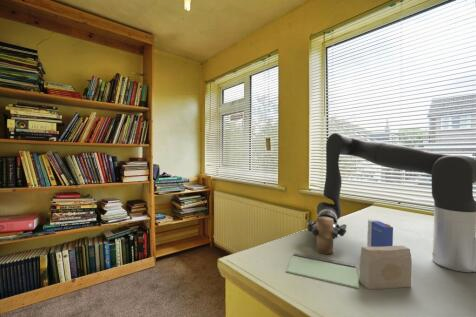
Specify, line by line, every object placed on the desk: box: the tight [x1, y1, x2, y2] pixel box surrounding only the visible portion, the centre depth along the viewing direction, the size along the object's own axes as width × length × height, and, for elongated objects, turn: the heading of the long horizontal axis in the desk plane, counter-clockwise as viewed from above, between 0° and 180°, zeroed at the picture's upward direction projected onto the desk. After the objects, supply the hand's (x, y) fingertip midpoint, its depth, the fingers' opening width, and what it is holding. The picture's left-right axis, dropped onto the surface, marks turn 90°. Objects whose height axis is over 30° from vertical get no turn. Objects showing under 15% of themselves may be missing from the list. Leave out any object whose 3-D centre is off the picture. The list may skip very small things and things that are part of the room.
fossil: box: [358, 245, 413, 290], centre depth 57 cm, size 12×4×10 cm, turn 97°
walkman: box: [366, 219, 394, 247], centre depth 71 cm, size 8×3×12 cm, turn 3°
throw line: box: [293, 252, 357, 269], centre depth 70 cm, size 18×2×1 cm, turn 66°
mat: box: [286, 255, 360, 290], centre depth 64 cm, size 18×10×1 cm, turn 66°
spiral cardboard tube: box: [316, 216, 334, 255], centre depth 76 cm, size 5×5×11 cm
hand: (324, 234), depth 74 cm, fingers closed on spiral cardboard tube, 5 cm apart
